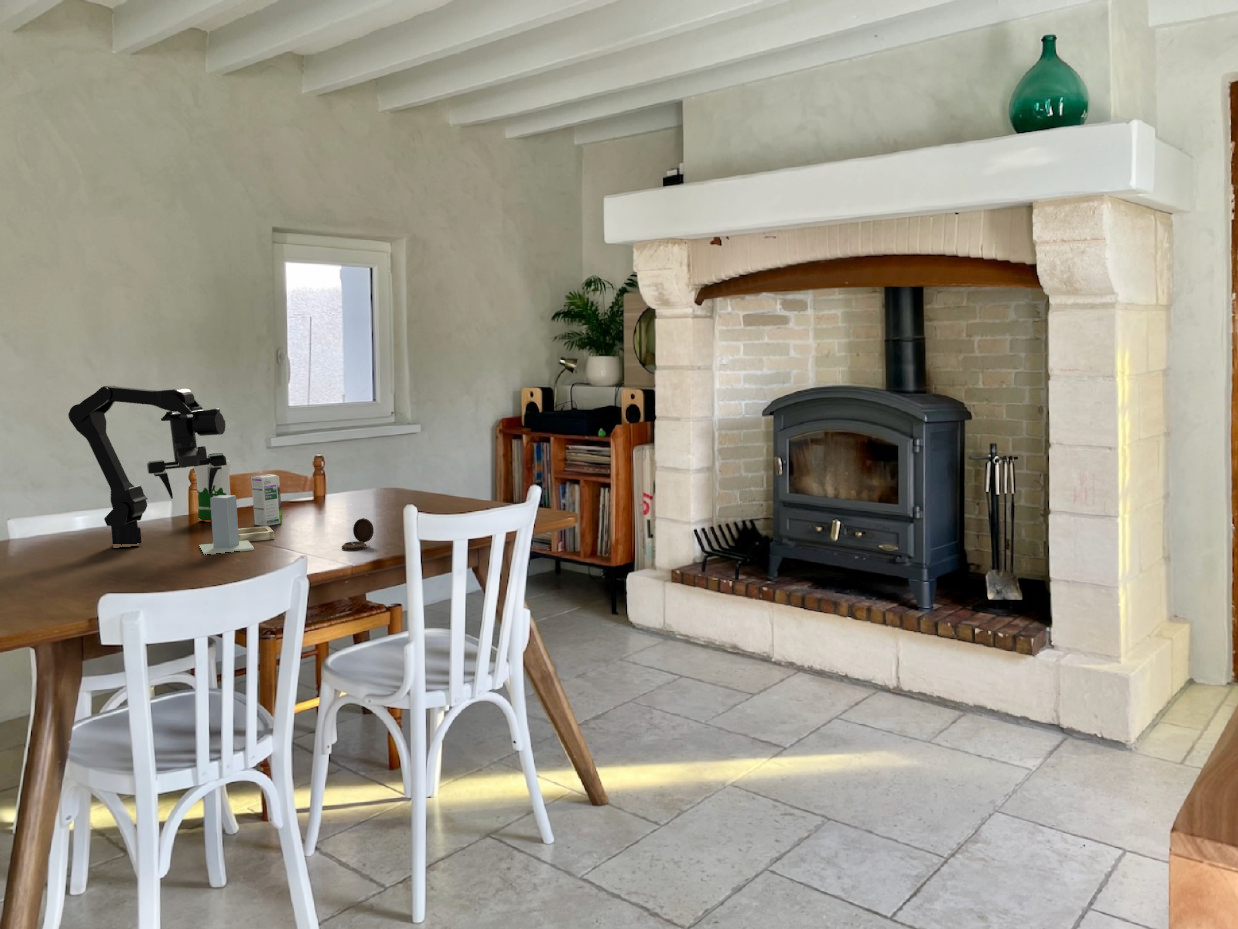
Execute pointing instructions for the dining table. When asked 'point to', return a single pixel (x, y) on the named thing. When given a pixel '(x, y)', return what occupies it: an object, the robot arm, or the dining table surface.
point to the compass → (360, 535)
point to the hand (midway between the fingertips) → (191, 496)
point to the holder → (256, 533)
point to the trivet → (242, 546)
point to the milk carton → (219, 487)
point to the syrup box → (266, 500)
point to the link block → (224, 521)
